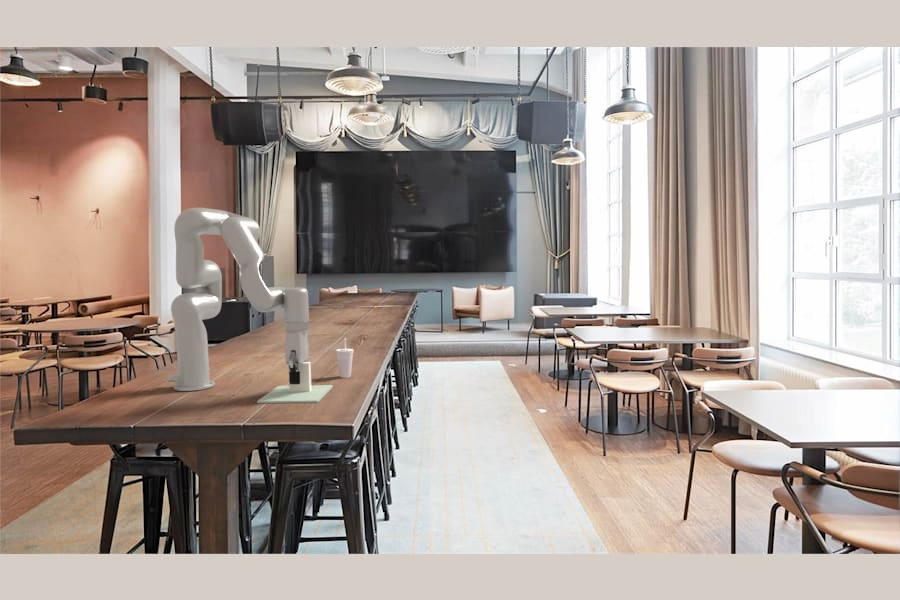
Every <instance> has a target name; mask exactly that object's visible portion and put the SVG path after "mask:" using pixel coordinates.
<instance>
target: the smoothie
mask: <svg viewBox="0 0 900 600" xmlns="http://www.w3.org/2000/svg"><path fill="white" fill-rule="evenodd" d="M343 340H344V348H338V349H335V354H336V359H337V364H338V371H339V376H340V378H347V379H348V378H350V377H352V366H353V357H354V348H347V337H344V338H343Z"/></svg>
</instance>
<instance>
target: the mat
mask: <svg viewBox="0 0 900 600" xmlns="http://www.w3.org/2000/svg"><path fill="white" fill-rule="evenodd" d="M331 389H333V385H332V384H328V385H327V384H326V385H325V384H323V385H322V384H321V385H320V384H317V385H313V384H311V391H303V392H290V391H289V385H277V386H276V387H275V388H273V389H272V390H271V391H269V392H268V393H266V394H265V395H263V396H262V397H260V398H259V399H258V400H257V401H256V402H257V403H256V404H289V403H290V404H298V403H299V404H300V403H301V404H303V403H304V404H305V403H310V404H311V403H315V404H316V403H319V401H321V400H322V399H323V398H324V397H325V396H326V394H327V393H328V392H330V390H331Z"/></svg>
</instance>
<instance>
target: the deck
mask: <svg viewBox="0 0 900 600" xmlns="http://www.w3.org/2000/svg"><path fill="white" fill-rule="evenodd" d="M287 365H288V367H289V364H287ZM296 366H297V365H296ZM311 369H312V367H311V361H308V362H302V363H301V364H300V365H299V371H300V384H290V381H289V380H288V382H289V383H288V384H289V385H288V386H289V391H290V392H303V391H311V385H312V370H311Z"/></svg>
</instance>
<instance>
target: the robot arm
mask: <svg viewBox="0 0 900 600" xmlns="http://www.w3.org/2000/svg"><path fill="white" fill-rule="evenodd" d="M173 229H174V239H175V279H176V283H177V285H179V287H181V288H182V289H185V290H186V289H188V290H190V289H191V290H192V289H193V290H194V289H196V291H195V292H186V293H182V294H180V295H178V296H176V297H175V298H174V299H173V300H172V303H171V305H170V306H171V307H170V312H171V313H170V314H171V316H172V320H173V324H174V329H175V340H176V342H175V343H176V344H175V345H176V355H177V356H176V358H177V359H176V360H177V374H176V375H173V374H172V375H171V374H169V375H167V382H168V383H174V385H173V390H175V391H179V392H192V391H201V390H207V389H211V388H212V387H214V386H215V385H216V382H215V381H214V380H212V379H210V378H211V377H210V363H209V362H210V361H209V343H208V332H207V329H206V326H205V324H204V322H203V320H204V321H205V320H209V319H213V318H215V317H217V315H219V314H220V312H221V309H222V302H223V300H222V299H223V298H222V297H223V292H222V291H223V290H222V289H223V283H222V282H223V280H222V279H223V278H222V277H223V275H222V271H221V268H220V266H219V265H218V263H216V262H214V261H212V260H210V259H205V246H204V242H203V241H202V238H201V235H208V236H209V235H210V236H211V235H212V236H214V235H215V236H221V237H222V239H223V240H224V242H225V244H226V246H227V248H228V249H229V251H230V252H231V255H233V257H234V259H235V262H236V263H237V265H238V267H239V281H240V286H241V289H242V291H243V294H244V295H245V297H246V298H247V300H248V302H249V304H250V305H251V306H252V307H253V308H254V309H255V310H256V311H258V312H260V313H271V312H276V311H280V310H281V311H282V310H283V317H284V332H285V333H286V334H285V363H286V364H287V365H288V364H289V366H288V382H289V381H290V384H300V371H299V365H300V364H301V363H302V362H309V361H308V358H309V339H308V333H309V332H310V313H309V312H310V311H309V308H310V307H309V305H310V304H309V291H308V289H307V288H305V287H300V286H299V287H284V286H271V287H267V286H266V284H265V282H264V280H263V279H262V276H261V274H260V265H261V263H262V262H263V261H264V260H265V253H264V251H263V250H262V248H261V246H260V244H259V243H258V240H259V239H260V237H261V228H260V225H259V223H257V221H256V220H254V219H253V218H251V217H247V216H244V215H240V214H237V213H233V212H229V211H227V210H223V209H215V208H210V207H209V208H207V207H192V208H186V209H185V210H183V211H182V212H180V213H179V215H178V216H177V218H176V219H175V222H174V228H173ZM296 365H297V366H296Z"/></svg>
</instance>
